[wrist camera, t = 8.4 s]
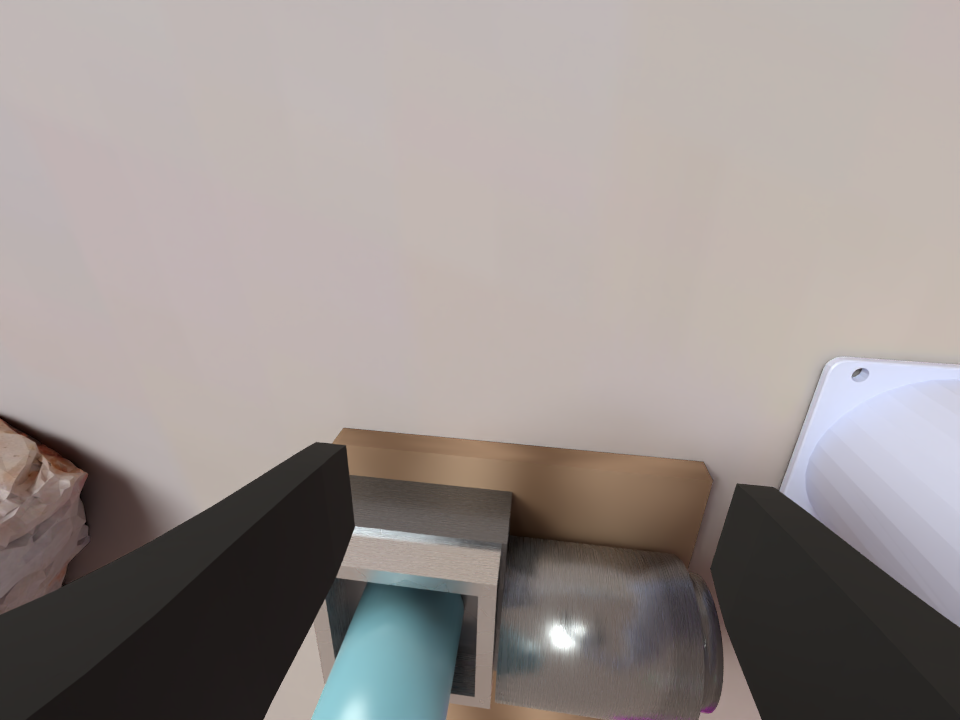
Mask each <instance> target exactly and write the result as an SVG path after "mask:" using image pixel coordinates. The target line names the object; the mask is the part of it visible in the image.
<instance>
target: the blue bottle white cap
mask: <svg viewBox="0 0 960 720" xmlns="http://www.w3.org/2000/svg"><path fill="white" fill-rule="evenodd" d="M463 616H464V604H463V600H462V598H461V595H460V594H457V593H449V592H441V591H434V590H426V589H418V588H411V587H403V586H395V585H387V584H380V583H372V582H367V584H366V587H365V589H364V591H363V594H362V596H361V599H360V601H359V604H358V606H357V609H356V611H355V613H354V616H353V618H352V621H351V623H350V626H349V628H348V631H347V633H346V635H345V638H344V640H343V643H342V645H341V648H340V650H339V653H338V655H337V657H336V660H335V662H334V665H333V667H332V670H331V672H330V675H329V677H328V680H327V682H326V684H325V687H324V689H323V692H322V694H321V697H320V699H319V702H318V704H317V706H316V709H315V711H314V714H313V716H312V719H311V720H446V718H447V712H448V706H449V700H450V694H451V688H452V682H453V676H454V670H455V664H456V658H457V652H458V646H459V640H460V634H461V628H462V622H463Z"/></svg>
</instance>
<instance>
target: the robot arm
mask: <svg viewBox="0 0 960 720" xmlns="http://www.w3.org/2000/svg"><path fill="white" fill-rule="evenodd" d="M859 368H862V371H861V372H860V374H859V375H857V376H855V377H852V374H853V372H854V371H855V370H857V369H859ZM354 528H355V522H354V512H353V503H352V494H351V485H350V476H349V467H348V457H347V448H346V445H339V444H329V443H319V442H316V443H314V444H312V445H310V446H309V447H307V448H305V449H303V450H302V451H300V452H298V453H297V454H295V455H293V456H292V457H290V458H289V459H287V460H285V461H284V462H282V463H281V464H279V465H278V466H276V467H274V468H273V469H271V470H270V471H268V472H266V473H265V474H263V475H262V476H260V477H259V478H257V479H255V480H254V481H252V482H251V483H249V484H247V485H246V486H244V487H243V488H241V489H239V490H238V491H236V492H234V493H233V494H231V495H230V496H228V497H226V498H225V499H223V500H222V501H220V502H218V503H217V504H215V505H213V506H212V507H210V508H208V509H207V510H205V511H203V512H201V513H200V514H198V515H196V516H194V517H193V518H191V519H189V520H188V521H186V522H184V523H182V524H181V525H179V526H177V527H175V528H174V529H172V530H170V531H168V532H167V533H165V534H163V535H162V536H160V537H158V538H156V539H155V540H153V541H151V542H149V543H148V544H146V545H144V546H142V547H140V548H138V549H136V550H135V551H133V552H131V553H129V554H127V555H125V556H123V557H121V558H119V559H117V560H115V561H114V562H112V563H110V564H108V565H106V566H104V567H102V568H100V569H98V570H96V571H94V572H92V573H90V574H88V575H86V576H83V577H81V578H79V579H77V580H75V581H73V582H71V583H69V584H67V585H65V586H63V587H61V588H59V589H57V590H55V591H53V592H51V593H48V594H46V595H44V596H42V597H40V598H37V599H35V600H33V601H31V602H28V603H26V604H24V605H21V606H19V607H17V608H15V609H12V610H10V611H8V612H6V613H3V614H1V615H0V720H263V719H264V717H265V715H266V713H267V711H268V709H269V707H270V705H271V702H272V700H273V698H274V696H275V695H276V693H277V691H278V689H279V687H280V685H281V683H282V681H283V679H284V677H285V675H286V673H287V672H288V670H289V668H290V666H291V664H292V662H293V660H294V658H295V656H296V654H297V652H298V650H299V648H300V647H301V645H302V643H303V641H304V639H305V637H306V635H307V633H308V631H309V629H310V627H311V625H312V624H313V622H314V620H315V618H316V616H317V614H318V612H319V610H320V608H321V606H322V604H323V602H324V600H325V598H326V596H327V594H328V592H329V590H330V588H331V586H332V584H333V582H334V580H335V578H336V576H337V574H338V571H339V569H340V566H341V564H342V561H343V558H344V556H345V553H346V551H347V548H348V545H349V542H350V539H351V537H352V534H353V531H354ZM710 569H711V573H712V577H713V581H714V585H715V589H716V593H717V597H718V601H719V605H720V608H721V612H722V616H723V619H724V623H725V627H726V629H727V632H728V635H729V637H730V640H731V643H732V645H733V648H734V650H735V653H736V655H737V658H738V661H739V663H740V666H741V668H742V671H743V673H744V676H745V679H746V681H747V684H748V686H749V689H750V691H751V694H752V696H753V699H754V701H755V704H756V706H757V709H758V711H759V714H760V716H761V719H762V720H960V365H959V364H944V363H930V362H915V361H901V360H887V359H872V358H858V357H836V358H834V359H832V360H830V361H829V362H828V363H827V364H826V365H825V367H824V368H823V371H822V374H821V377H820V379H819V382H818V385H817V388H816V390H815V393H814V396H813V399H812V402H811V404H810V407H809V410H808V413H807V415H806V418H805V421H804V424H803V426H802V429H801V432H800V435H799V438H798V440H797V443H796V446H795V449H794V451H793V454H792V457H791V460H790V463H789V465H788V468H787V471H786V474H785V476H784V479H783V482H782V485H781V487H780V490H779V491H778V490H777V489H775V488H774V487H766V486H756V485H746V484H737V485H736V488H735V491H734V494H733V498H732V501H731V504H730V507H729V511H728V514H727V517H726V520H725V523H724V527H723V530H722V533H721V536H720V539H719V543H718V546H717V549H716V552H715V555H714V559H713V562H712V565H711V568H710Z"/></svg>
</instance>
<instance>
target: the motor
mask: <svg viewBox="0 0 960 720" xmlns="http://www.w3.org/2000/svg"><path fill="white" fill-rule="evenodd" d="M349 476H350V485H351V494H352V503H353V512H354V522H355V528H354V531H353V534H352V537H351V539H350V542H349V545H348V548H347V551H346V553H345V556H344V558H343V561H342V564H341V566H340V569H339V571H338V574H337V576H336V578H335V580H334V582H333V584H332V586H331V588H330V590H329V592H328V594H327V596H326V598H325V600H324V602H323V604H322V606H321V608H320V610H319V612H318V614H317V616H316V618H315V620H314V627H315V632H316V638H317V644H318V649H319V655H320V661H321V667H322V672H323V678H324V684H326V682H327V680H328V677H329V675H330V672H331V670H332V667H333V665H334V662H335V660H336V657H337V655H338V653H339V650H340V648H341V645H342V643H343V640H344V638H345V635H346V633H347V631H348V628H349V626H350V623H351V621H352V618H353V616H354V613H355V611H356V609H357V606H358V604H359V601H360V599H361V596H362V594H363V591H364V589H365V587H366V584H367V582H372V583H380V584H387V585H395V586H403V587H411V588H418V589H426V590H434V591H441V592H449V593H457V594H460V595H461V598H462V600H463V604H464V616H463V622H462V628H461V634H460V640H459V646H458V652H457V658H456V664H455V670H454V676H453V682H452V688H451V694H450V700H449V703H452V704H459V705H465V706H472V707H478V708H485V709H490V703H491V693H492V683H493V673H494V671H497V674H496V689H495V703H500V704H506V705H513V706H519V707H526V708H532V709H539V710H545V711H552V712H558V713H565V714H571V715H578V716H584V717H591V718H597V719H604V720H698V718H699V715H700V712H702V713H711V712H713V711H714V710H715V708H716V707H717V705H718V703H719V699H720V696H721V691H722V683H723V647H722V638H721V631H720V625H719V620H718V616H717V611H716V608H715V604H714V601H713V598H712V596H711V593H710V591H709V589H708V587H707V585H706V583H705V582H704V580H703V579H702V578H701V577H700V576H699V575H698V574H695V573H688V571H687V569H686V567H685V565H684V563H683V562H682V560H681V559H680V558H679V557H678V556H676V555H674V554H668V553H660V552H651V551H642V550H634V549H625V548H616V547H608V546H599V545H590V544H582V543H573V542H564V541H556V540H547V539H538V538H530V537H521V536H512V535H509V532H510V517H511V502H512V492H509V491H500V490H490V489H481V488H471V487H462V486H452V485H443V484H433V483H424V482H414V481H405V480H395V479H386V478H376V477H367V476H357V475H349Z"/></svg>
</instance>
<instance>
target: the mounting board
mask: <svg viewBox="0 0 960 720" xmlns="http://www.w3.org/2000/svg"><path fill="white" fill-rule="evenodd" d="M332 444H339V445H346V448H347V457H348V467H349V475H357V476H367V477H376V478H386V479H395V480H405V481H414V482H424V483H433V484H443V485H452V486H462V487H471V488H481V489H490V490H500V491H509V492H512V502H511V517H510V532H509V535H512V536H521V537H530V538H538V539H547V540H556V541H564V542H573V543H582V544H590V545H599V546H608V547H616V548H625V549H634V550H642V551H651V552H660V553H668V554H674V555H676V556H678V557H679V558H680V559H681V560H682V562H683V563H684V565H685V567H686V569H687V570H688V567H689V563H690V560H691V556H692V553H693V549H694V546H695V542H696V539H697V535H698V532H699V528H700V525H701V521H702V518H703V514H704V511H705V507H706V504H707V500H708V497H709V493H710V490H711V486H712V483H713V480H712V478H711V476H710V474H709V472H708V470H707V468H706V466H705V464H704V463H703V462H699V461H688V460H678V459H667V458H656V457H646V456H635V455H625V454H614V453H603V452H593V451H582V450H572V449H561V448H550V447H540V446H529V445H519V444H508V443H497V442H487V441H476V440H466V439H455V438H444V437H434V436H423V435H413V434H402V433H391V432H381V431H370V430H360V429H349V428H343V429H342V431H341V432H340V433H339V435H338V436H337V437H336V439H335V440H334V441H333V443H332ZM496 674H497V671H494V673H493V683H492V693H491V703H490V709H485V708H478V707H472V706H465V705H459V704H452V703H449V706H448V712H447V718H446V720H604V719H597V718H591V717H584V716H578V715H571V714H565V713H558V712H552V711H545V710H539V709H532V708H526V707H519V706H513V705H506V704H500V703H495V689H496Z"/></svg>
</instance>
